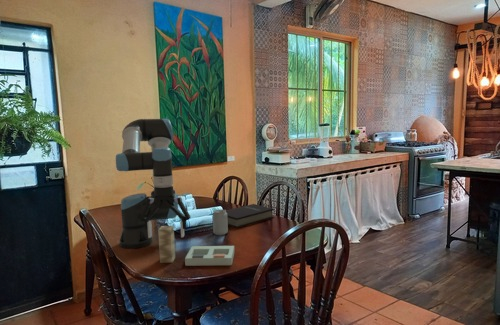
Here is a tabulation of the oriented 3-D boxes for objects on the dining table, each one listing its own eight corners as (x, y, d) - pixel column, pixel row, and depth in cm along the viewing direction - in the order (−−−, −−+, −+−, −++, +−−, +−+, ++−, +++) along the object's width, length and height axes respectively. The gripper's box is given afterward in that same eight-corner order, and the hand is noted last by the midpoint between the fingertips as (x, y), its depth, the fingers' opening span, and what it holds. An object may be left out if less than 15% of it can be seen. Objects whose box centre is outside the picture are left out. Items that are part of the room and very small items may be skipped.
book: (251, 212, 218) (251, 203, 218) (273, 218, 204) (273, 208, 203) (215, 221, 200) (215, 211, 199) (237, 229, 186) (236, 218, 185)
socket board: (185, 265, 139) (184, 256, 138) (192, 252, 152) (191, 244, 152) (231, 265, 138) (231, 256, 137) (234, 252, 151) (234, 244, 151)
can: (225, 236, 173) (224, 212, 172) (211, 235, 175) (210, 212, 174) (229, 231, 181) (228, 208, 179) (215, 230, 182) (214, 208, 181)
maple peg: (160, 262, 142) (158, 229, 141) (163, 257, 147) (161, 225, 146) (172, 262, 142) (170, 229, 141) (175, 257, 147) (173, 225, 146)
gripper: (129, 188, 138) (133, 240, 140) (192, 186, 137) (194, 239, 139) (136, 185, 145) (139, 234, 147) (195, 183, 144) (198, 233, 146)
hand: (166, 236), depth 143 cm, fingers open, 13 cm apart
